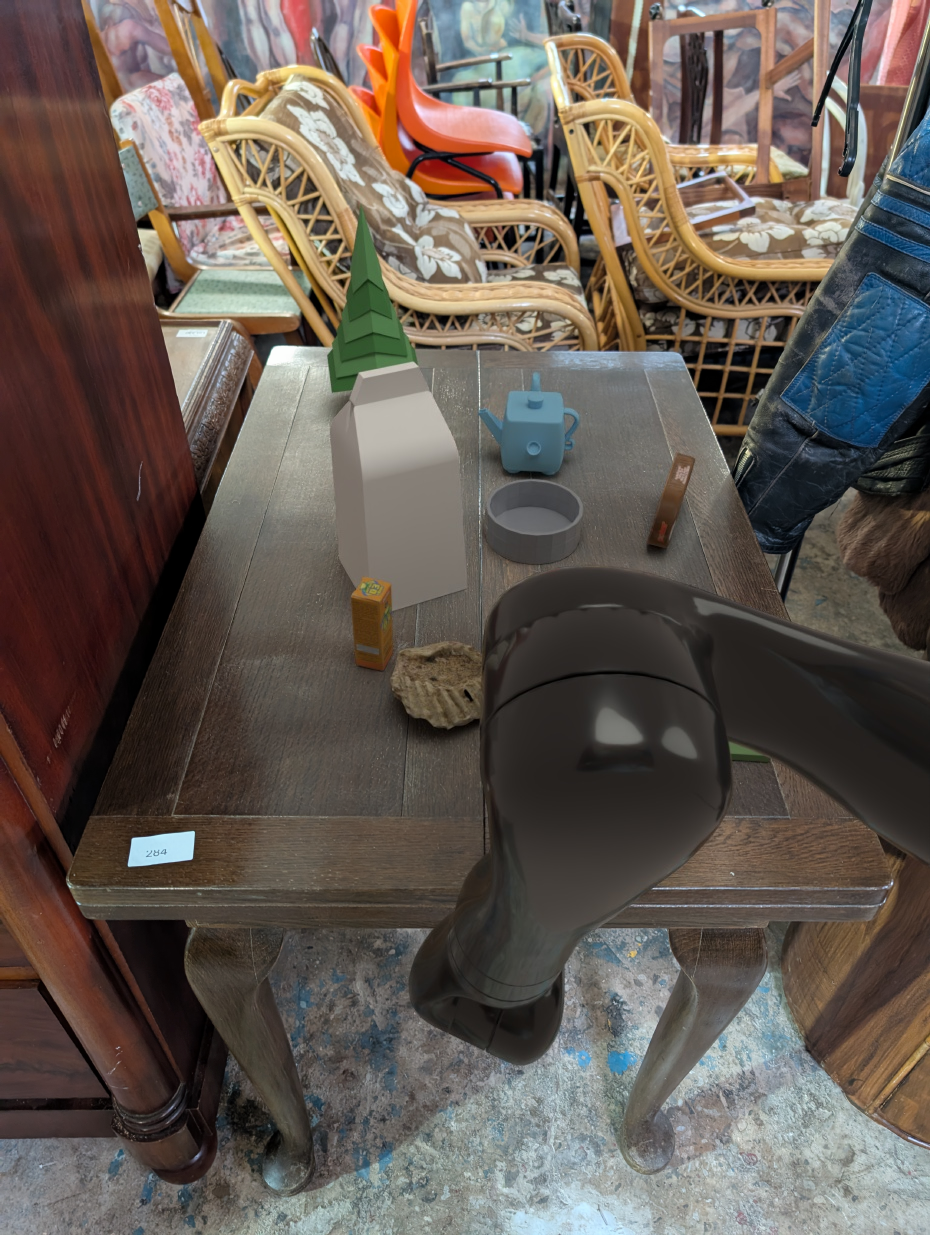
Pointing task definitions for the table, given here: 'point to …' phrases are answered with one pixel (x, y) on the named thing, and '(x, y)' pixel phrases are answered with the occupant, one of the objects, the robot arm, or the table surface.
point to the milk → (398, 488)
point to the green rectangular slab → (746, 754)
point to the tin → (671, 500)
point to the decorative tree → (366, 320)
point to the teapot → (532, 430)
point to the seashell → (439, 683)
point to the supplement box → (372, 623)
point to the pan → (533, 521)
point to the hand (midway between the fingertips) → (610, 655)
